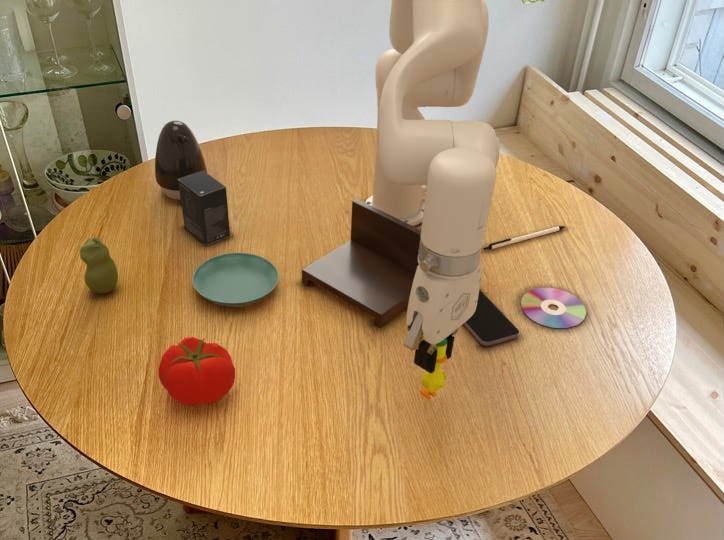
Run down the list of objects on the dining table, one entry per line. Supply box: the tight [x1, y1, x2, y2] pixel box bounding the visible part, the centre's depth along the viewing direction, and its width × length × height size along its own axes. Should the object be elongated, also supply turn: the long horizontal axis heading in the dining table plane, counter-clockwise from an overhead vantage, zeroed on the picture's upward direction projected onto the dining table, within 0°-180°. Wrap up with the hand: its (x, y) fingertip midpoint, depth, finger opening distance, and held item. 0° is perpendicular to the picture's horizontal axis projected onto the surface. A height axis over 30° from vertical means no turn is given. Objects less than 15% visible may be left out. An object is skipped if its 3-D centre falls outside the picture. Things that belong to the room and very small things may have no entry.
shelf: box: [301, 198, 421, 330], centre depth 128 cm, size 14×18×11 cm
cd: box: [520, 287, 587, 329], centre depth 129 cm, size 11×11×1 cm
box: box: [178, 171, 231, 246], centre depth 139 cm, size 8×6×11 cm
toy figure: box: [419, 335, 448, 400], centre depth 105 cm, size 7×4×12 cm, turn 33°
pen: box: [483, 225, 566, 251], centre depth 144 cm, size 1×19×1 cm, turn 116°
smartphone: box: [462, 288, 520, 347], centre depth 127 cm, size 7×1×15 cm
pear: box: [79, 237, 119, 295], centre depth 125 cm, size 6×5×10 cm
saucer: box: [191, 252, 280, 308], centre depth 130 cm, size 15×15×3 cm
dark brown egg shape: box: [154, 120, 208, 201], centre depth 147 cm, size 10×10×15 cm
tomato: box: [158, 336, 236, 408], centre depth 109 cm, size 11×11×9 cm
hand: (432, 359), depth 104 cm, fingers closed on toy figure, 3 cm apart
